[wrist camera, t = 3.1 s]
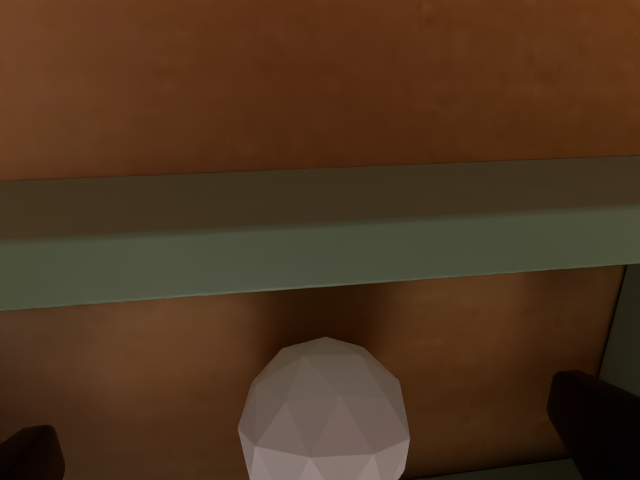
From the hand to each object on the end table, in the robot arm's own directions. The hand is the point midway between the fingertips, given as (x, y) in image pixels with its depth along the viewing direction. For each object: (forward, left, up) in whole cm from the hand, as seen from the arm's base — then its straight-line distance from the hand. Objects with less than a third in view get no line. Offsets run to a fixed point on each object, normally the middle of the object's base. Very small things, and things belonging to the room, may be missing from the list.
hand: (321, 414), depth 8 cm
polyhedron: (0, 0, -1) cm, 1 cm away
